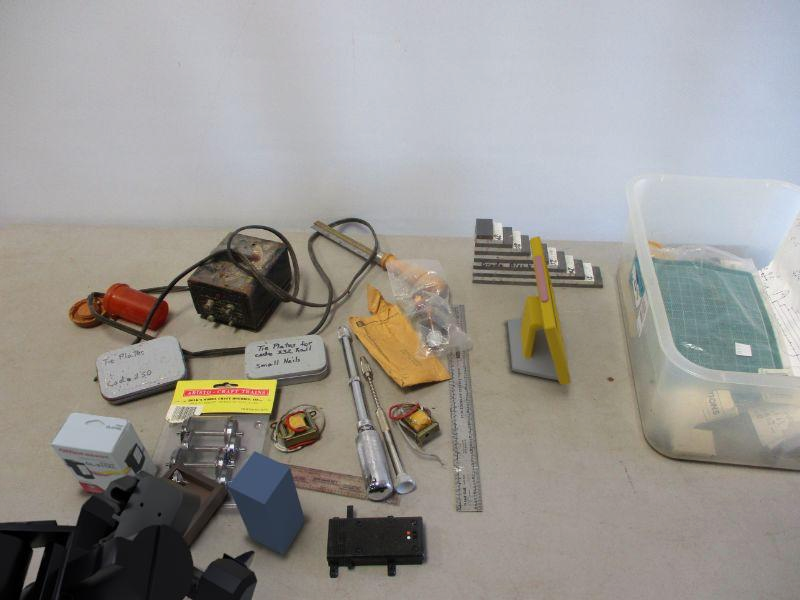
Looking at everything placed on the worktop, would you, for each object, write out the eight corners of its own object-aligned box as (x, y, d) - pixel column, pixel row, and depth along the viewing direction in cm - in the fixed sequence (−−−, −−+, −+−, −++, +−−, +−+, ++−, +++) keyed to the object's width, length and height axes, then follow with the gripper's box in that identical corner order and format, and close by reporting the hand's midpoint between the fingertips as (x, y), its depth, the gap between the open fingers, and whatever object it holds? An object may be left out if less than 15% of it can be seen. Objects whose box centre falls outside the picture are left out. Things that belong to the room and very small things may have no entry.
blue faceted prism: (283, 555, 73) (264, 504, 64) (250, 538, 74) (227, 486, 66) (305, 520, 76) (290, 467, 67) (273, 504, 78) (254, 450, 69)
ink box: (83, 492, 80) (45, 443, 71) (102, 460, 83) (68, 411, 75) (142, 501, 78) (110, 453, 70) (159, 469, 82) (130, 419, 74)
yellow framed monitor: (566, 398, 89) (587, 325, 78) (514, 396, 90) (527, 324, 79) (550, 306, 104) (566, 234, 93) (505, 304, 104) (515, 233, 93)
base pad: (188, 550, 73) (181, 540, 71) (139, 523, 76) (131, 512, 74) (228, 496, 79) (223, 484, 77) (181, 472, 81) (175, 461, 79)
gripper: (217, 552, 43) (315, 500, 58) (42, 454, 49) (171, 429, 64) (173, 693, 44) (282, 605, 58) (4, 578, 50) (141, 525, 65)
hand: (216, 536), depth 61 cm, fingers open, 9 cm apart
